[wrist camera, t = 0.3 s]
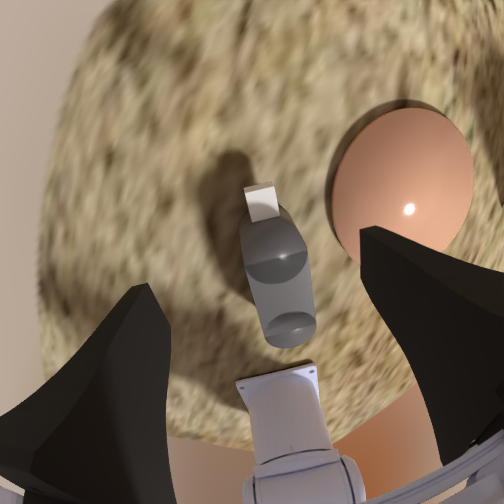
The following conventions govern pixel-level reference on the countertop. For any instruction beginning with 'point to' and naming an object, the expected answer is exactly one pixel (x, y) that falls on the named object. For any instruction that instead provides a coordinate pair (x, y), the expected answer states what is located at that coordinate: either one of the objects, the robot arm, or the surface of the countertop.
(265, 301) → the charcoal plug
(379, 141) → the coaster
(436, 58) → the countertop surface
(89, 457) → the robot arm
